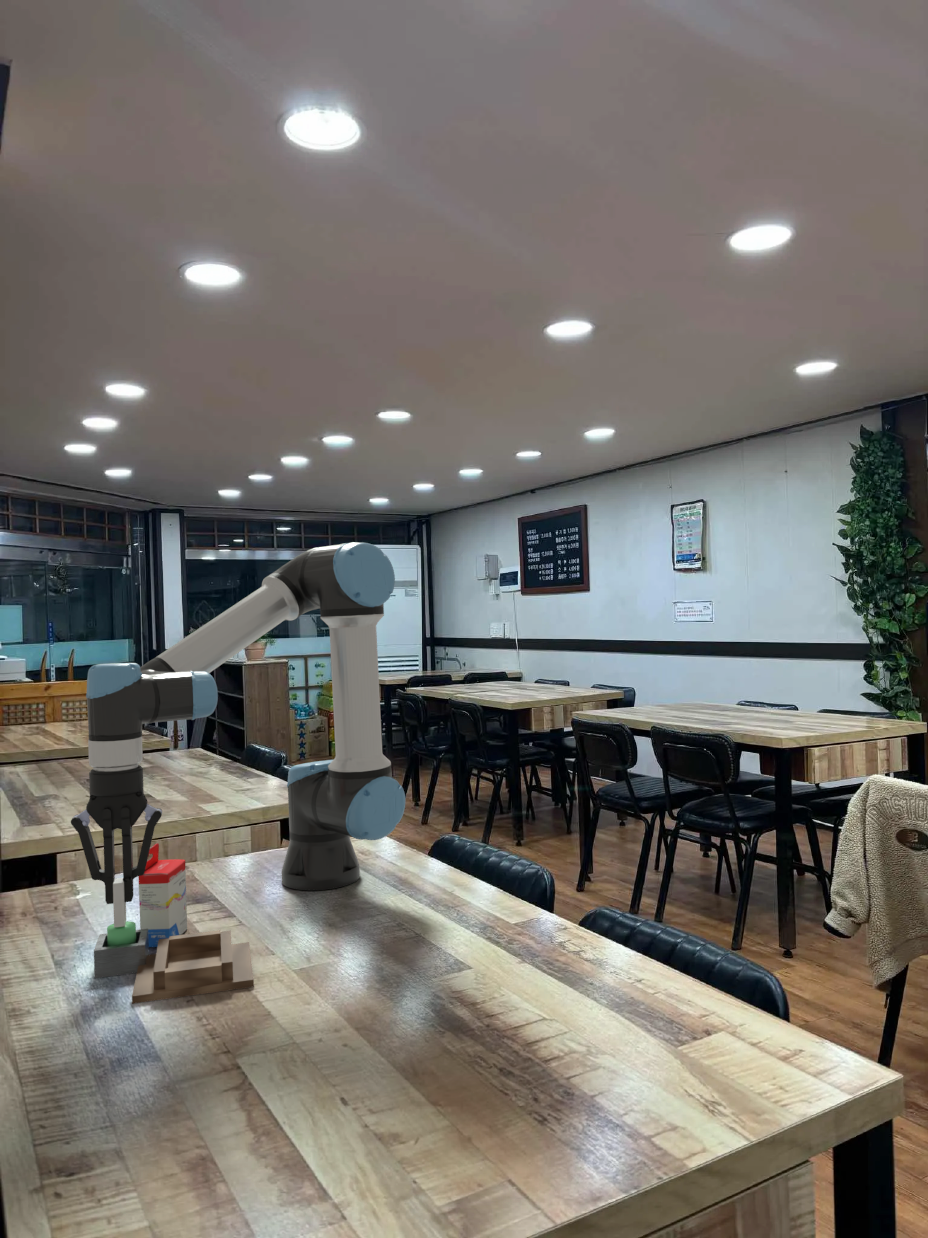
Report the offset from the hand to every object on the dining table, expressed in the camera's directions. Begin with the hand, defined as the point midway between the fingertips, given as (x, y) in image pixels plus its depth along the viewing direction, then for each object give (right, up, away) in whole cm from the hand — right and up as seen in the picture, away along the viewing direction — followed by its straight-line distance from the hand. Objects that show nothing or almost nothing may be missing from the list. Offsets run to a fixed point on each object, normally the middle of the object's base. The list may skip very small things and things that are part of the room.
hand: (120, 923), depth 133 cm
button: (0, -3, 0) cm, 3 cm away
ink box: (+3, -6, +11) cm, 13 cm away
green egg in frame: (0, -6, 0) cm, 6 cm away
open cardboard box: (+12, -6, -4) cm, 14 cm away
